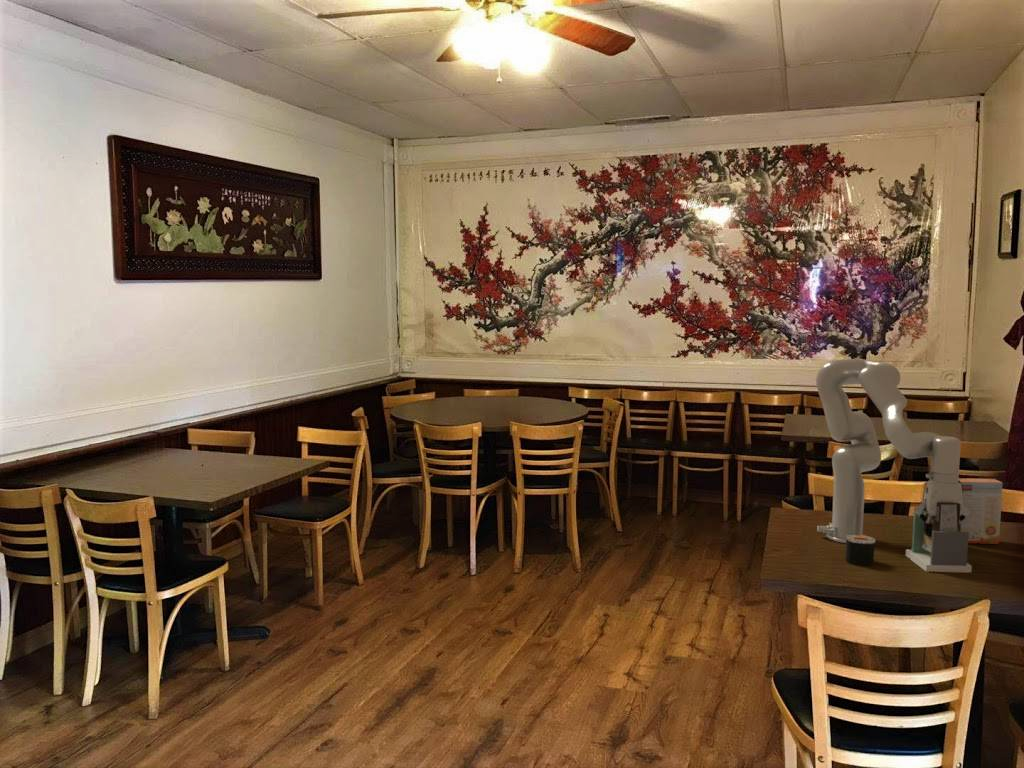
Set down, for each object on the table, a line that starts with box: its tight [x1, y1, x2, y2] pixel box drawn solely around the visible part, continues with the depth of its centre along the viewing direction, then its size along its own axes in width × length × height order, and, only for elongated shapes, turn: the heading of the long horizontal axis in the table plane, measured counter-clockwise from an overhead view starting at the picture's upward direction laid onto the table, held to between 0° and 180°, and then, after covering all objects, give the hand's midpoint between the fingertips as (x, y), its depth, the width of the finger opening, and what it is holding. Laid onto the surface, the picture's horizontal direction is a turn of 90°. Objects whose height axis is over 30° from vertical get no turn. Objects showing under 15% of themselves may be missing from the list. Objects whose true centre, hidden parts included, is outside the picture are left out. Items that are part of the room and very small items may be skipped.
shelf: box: [905, 510, 973, 574], centre depth 256 cm, size 13×15×15 cm
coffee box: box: [922, 503, 961, 552], centre depth 254 cm, size 9×6×16 cm
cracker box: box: [958, 477, 1003, 545], centre depth 278 cm, size 14×6×21 cm, turn 84°
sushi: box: [845, 534, 876, 567], centre depth 258 cm, size 8×8×8 cm
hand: (940, 535), depth 255 cm, fingers closed on coffee box, 6 cm apart
